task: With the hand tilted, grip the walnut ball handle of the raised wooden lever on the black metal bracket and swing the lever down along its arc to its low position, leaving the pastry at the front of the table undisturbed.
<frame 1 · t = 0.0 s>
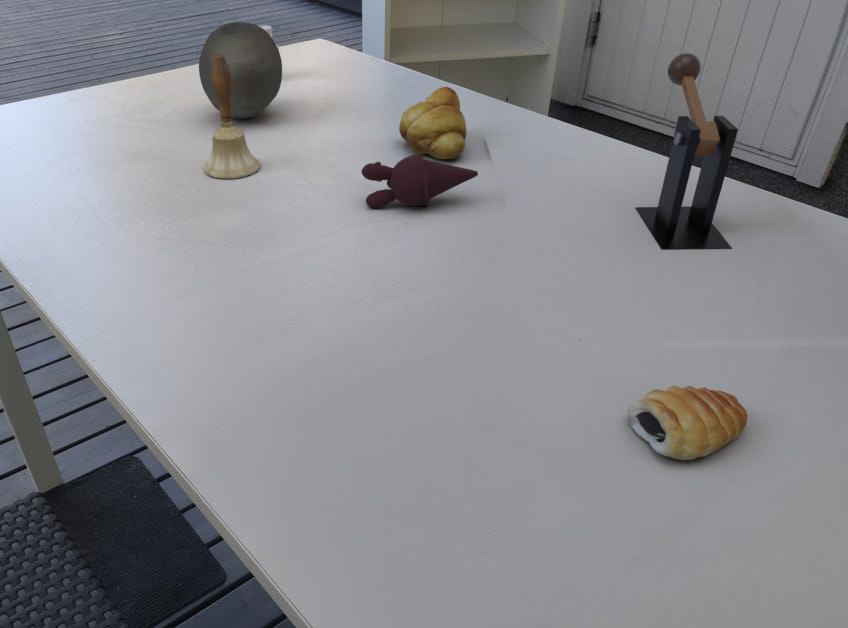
pepper shaker: (268, 80, 145), on the table
lever: (693, 101, 85), point 14 cm above the table, hinge at 25.0°
bread roll: (433, 150, 114), on the table
hand bell: (232, 169, 110), on the table
icecream: (419, 204, 99), on the table
pastry: (680, 433, 62), on the table
grey round ball: (247, 118, 127), on the table
bracket: (679, 235, 90), on the table
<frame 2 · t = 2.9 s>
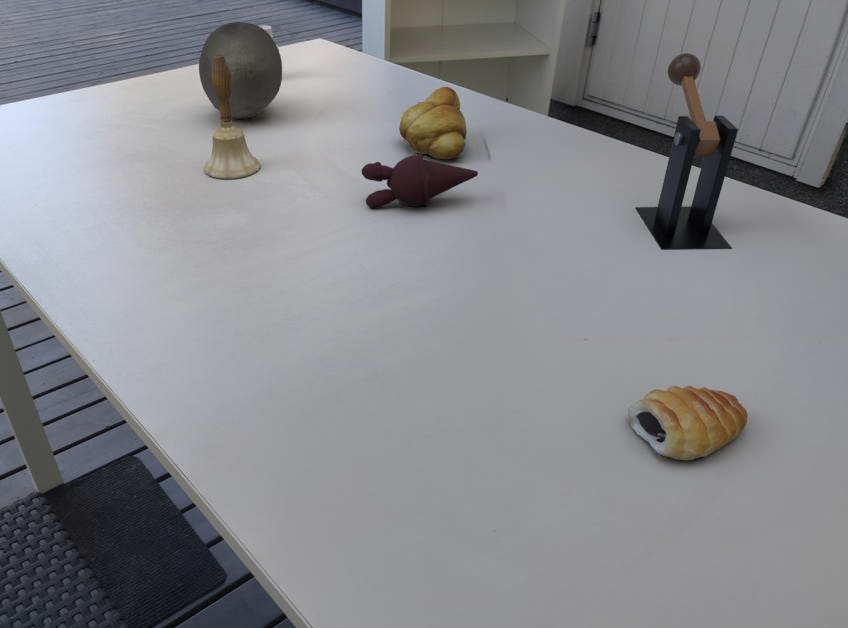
nothing on the table moved.
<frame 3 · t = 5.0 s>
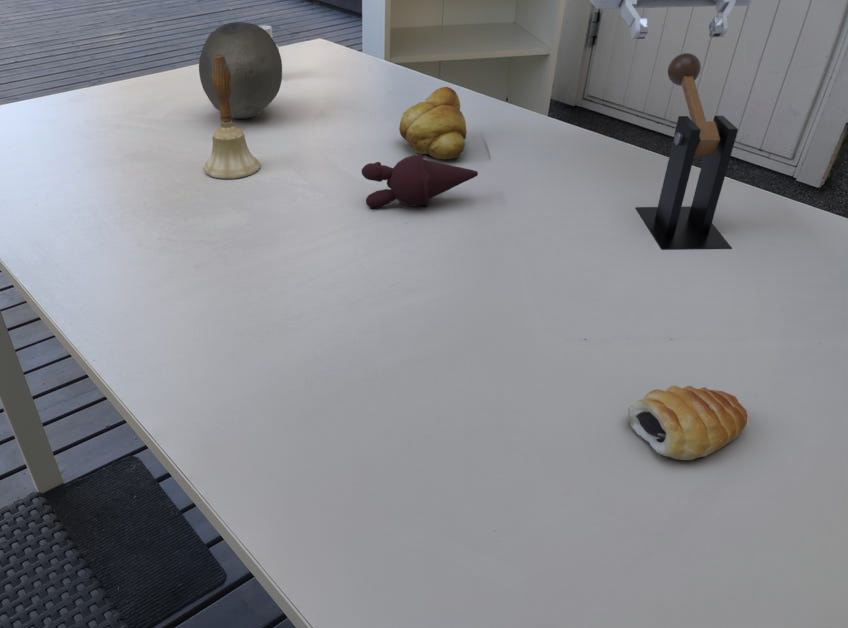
hand: (679, 35, 89), 19 cm above the table, tool tilted 45°, fingers open, 8 cm apart
nothing on the table moved.
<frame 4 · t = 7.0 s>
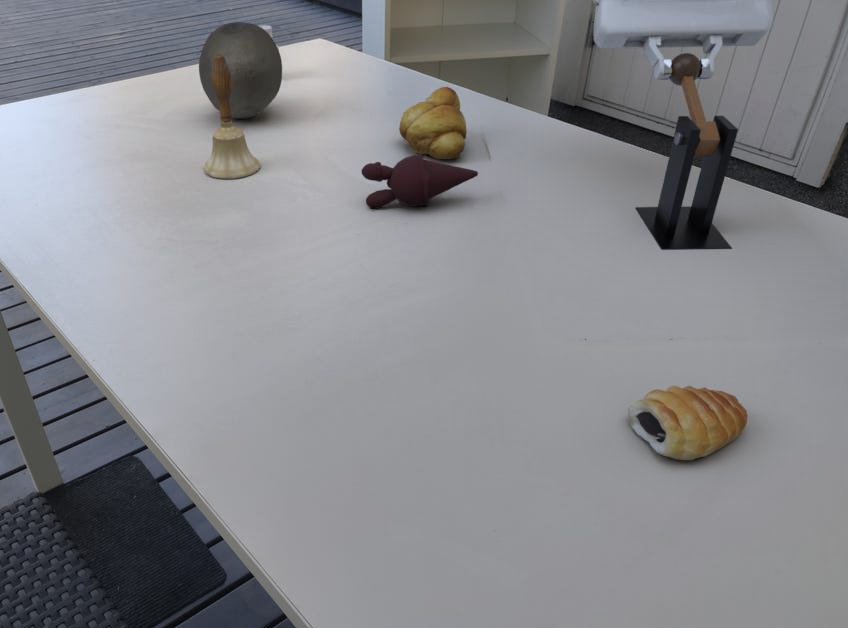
hand: (684, 77, 88), 16 cm above the table, tool tilted 45°, fingers closed on lever, 3 cm apart
lever: (693, 101, 85), point 14 cm above the table, hinge at 25.0°, touching gripper
everything else where it was.
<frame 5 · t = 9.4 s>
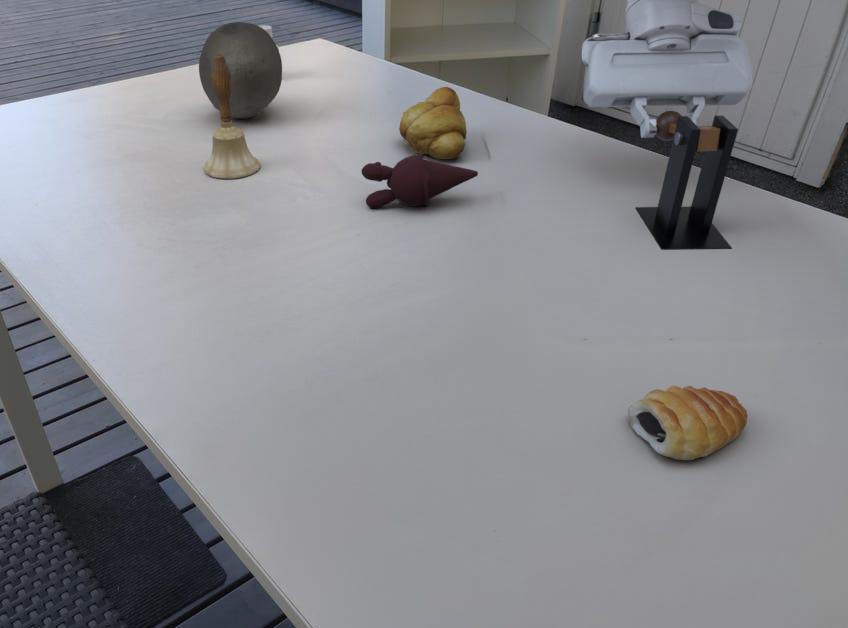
hand: (669, 135, 93), 9 cm above the table, tool tilted 45°, fingers closed on lever, 3 cm apart
lever: (684, 131, 88), point 11 cm above the table, hinge at -12.5°, touching gripper
everything else where it was.
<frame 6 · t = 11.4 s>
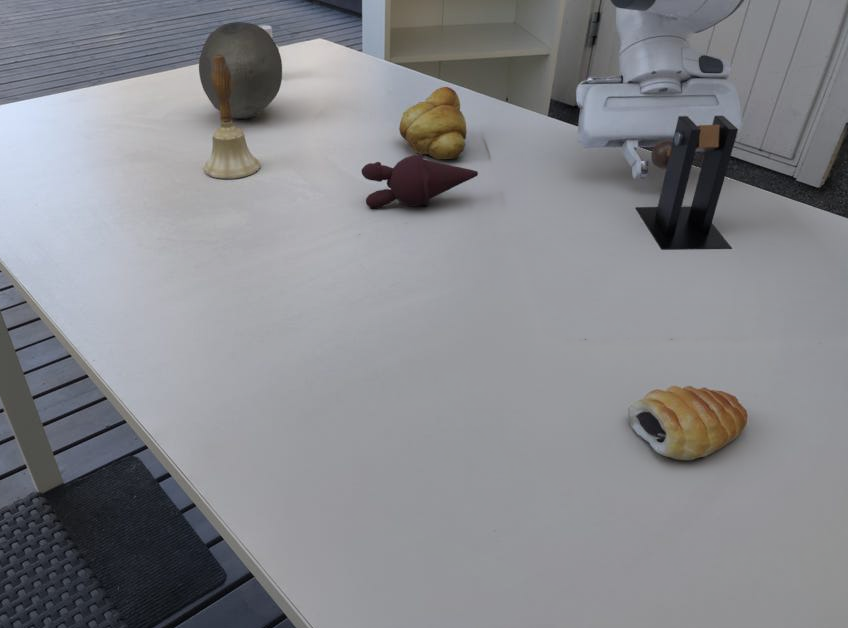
hand: (661, 176, 95), 3 cm above the table, tool tilted 45°, fingers open, 4 cm apart
lever: (683, 147, 88), point 9 cm above the table, hinge at -30.5°
everything else where it was.
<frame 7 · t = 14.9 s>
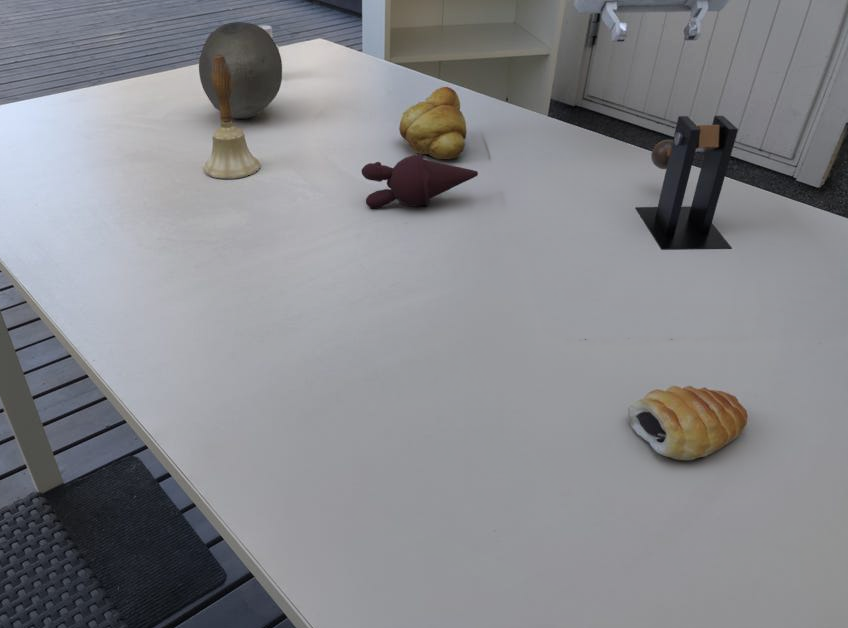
hand: (656, 38, 96), 17 cm above the table, tool tilted 45°, fingers open, 8 cm apart
nothing on the table moved.
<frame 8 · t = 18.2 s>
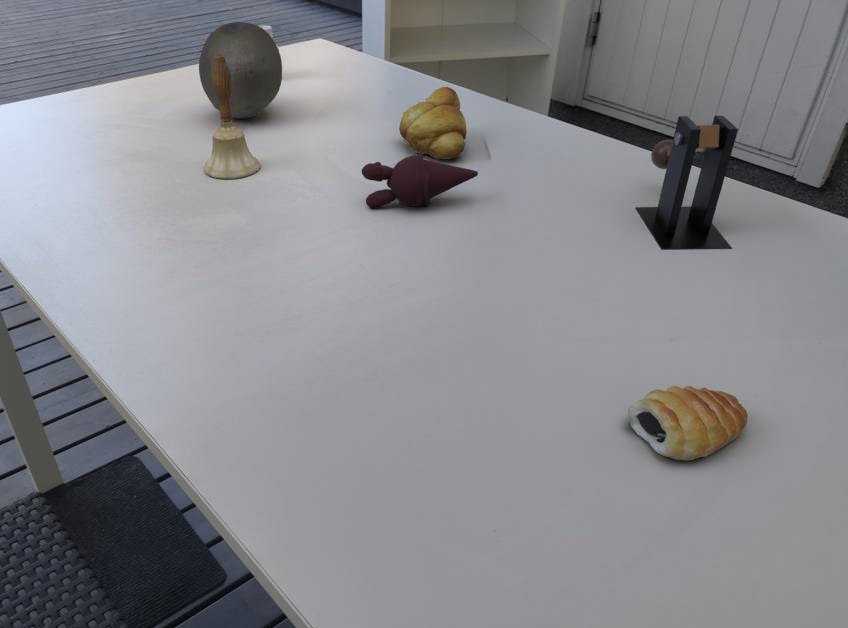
nothing on the table moved.
at the end: lever at -30° (first picture: +25°); pastry moved 0.2 cm from its start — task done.
